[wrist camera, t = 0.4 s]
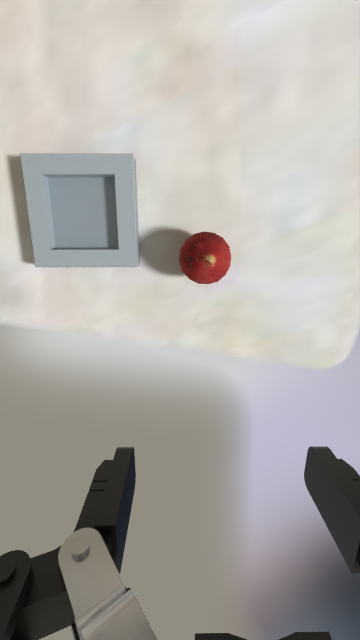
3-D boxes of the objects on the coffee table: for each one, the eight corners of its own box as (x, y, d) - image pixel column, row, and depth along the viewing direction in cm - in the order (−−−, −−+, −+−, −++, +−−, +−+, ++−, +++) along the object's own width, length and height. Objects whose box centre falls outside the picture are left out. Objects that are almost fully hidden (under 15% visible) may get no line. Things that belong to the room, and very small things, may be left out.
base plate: (32, 160, 32) (20, 153, 29) (135, 161, 32) (132, 153, 29) (45, 265, 35) (35, 267, 32) (139, 265, 35) (136, 266, 32)
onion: (177, 278, 35) (177, 286, 27) (181, 231, 34) (182, 226, 26) (221, 282, 35) (234, 291, 28) (227, 236, 34) (242, 232, 26)
